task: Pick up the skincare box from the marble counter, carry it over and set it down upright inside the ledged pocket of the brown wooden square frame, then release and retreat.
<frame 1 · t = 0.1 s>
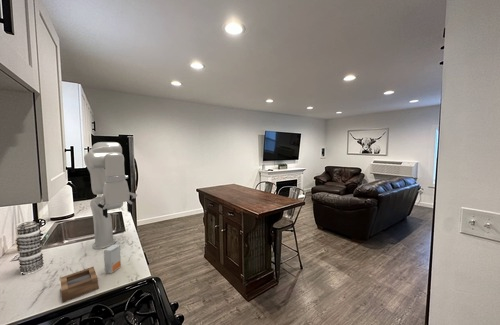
hand: (118, 214, 99), 31 cm above the countertop, fingers open, 9 cm apart
skincare box: (113, 269, 107), on the countertop
decorative candle: (32, 270, 108), on the countertop
brown wooden square frame: (79, 288, 93), on the countertop
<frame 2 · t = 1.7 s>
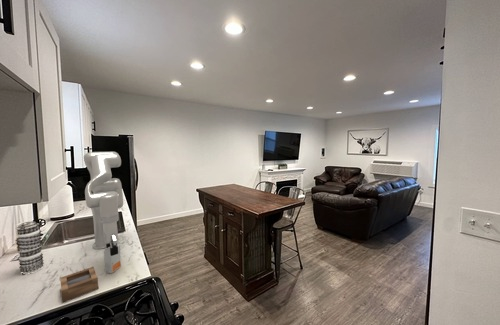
hand: (112, 251, 106), 10 cm above the countertop, fingers open, 9 cm apart
nothing on the countertop moved.
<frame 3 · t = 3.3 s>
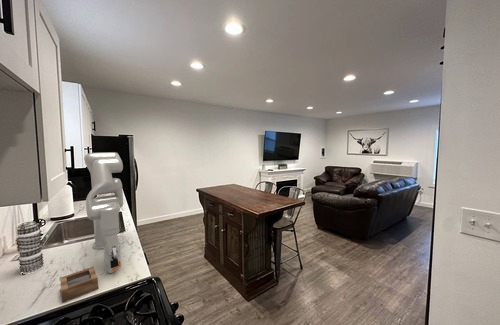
hand: (112, 263, 107), 3 cm above the countertop, fingers closed on skincare box, 6 cm apart
skincare box: (113, 269, 107), on the countertop, touching gripper
everything else where it was.
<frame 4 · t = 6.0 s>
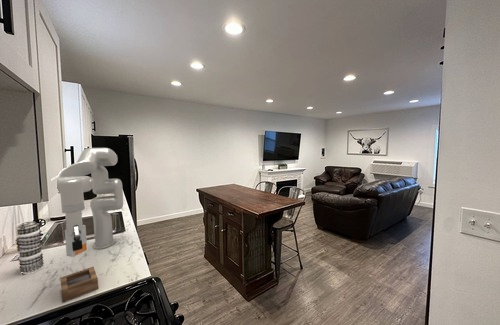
hand: (76, 246, 91), 20 cm above the countertop, fingers closed on skincare box, 6 cm apart
skincare box: (77, 253, 92), point 16 cm above the countertop, touching gripper
everything else where it was.
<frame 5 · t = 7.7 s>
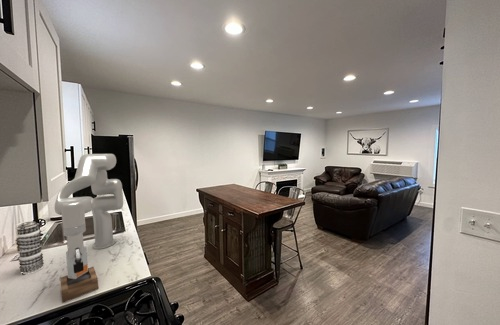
hand: (78, 267, 92), 10 cm above the countertop, fingers closed on skincare box, 6 cm apart
skincare box: (78, 275, 92), point 6 cm above the countertop, touching gripper
everything else where it was.
when the fingers open (8 cm above the countertop, at t = 9.1 s): skincare box drops 1 cm, resting on brown wooden square frame.
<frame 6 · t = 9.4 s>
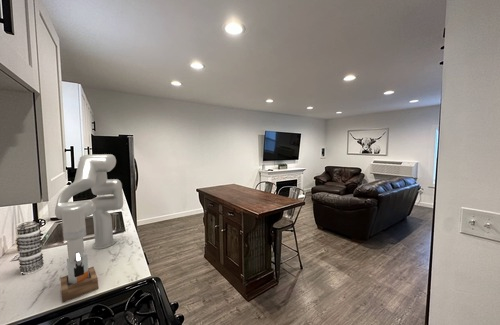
hand: (78, 270, 92), 8 cm above the countertop, fingers open, 9 cm apart
skincare box: (79, 281, 93), point 3 cm above the countertop, touching brown wooden square frame
everything else where it was.
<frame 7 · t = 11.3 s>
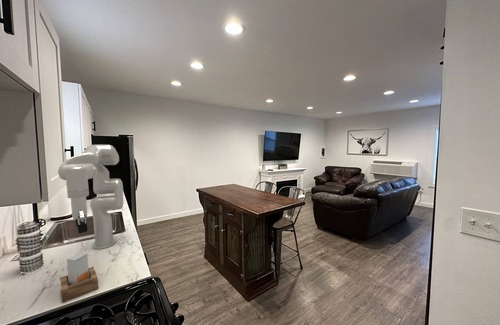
hand: (81, 228, 96), 25 cm above the countertop, fingers open, 9 cm apart
nothing on the countertop moved.
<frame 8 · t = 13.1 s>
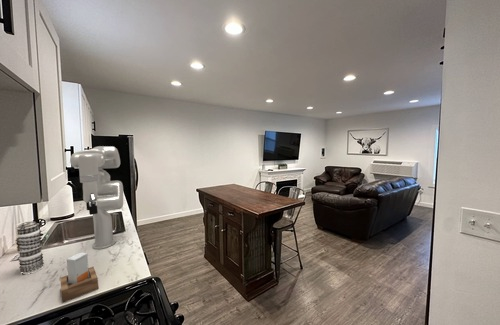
hand: (92, 211, 106), 30 cm above the countertop, fingers open, 9 cm apart
nothing on the countertop moved.
at the end: skincare box inside the target area on the brown wooden square frame (0.3 cm from its centre), point 3.0 cm above the brown wooden square frame's base; skincare box tilted 0°; the gripper is holding nothing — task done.
